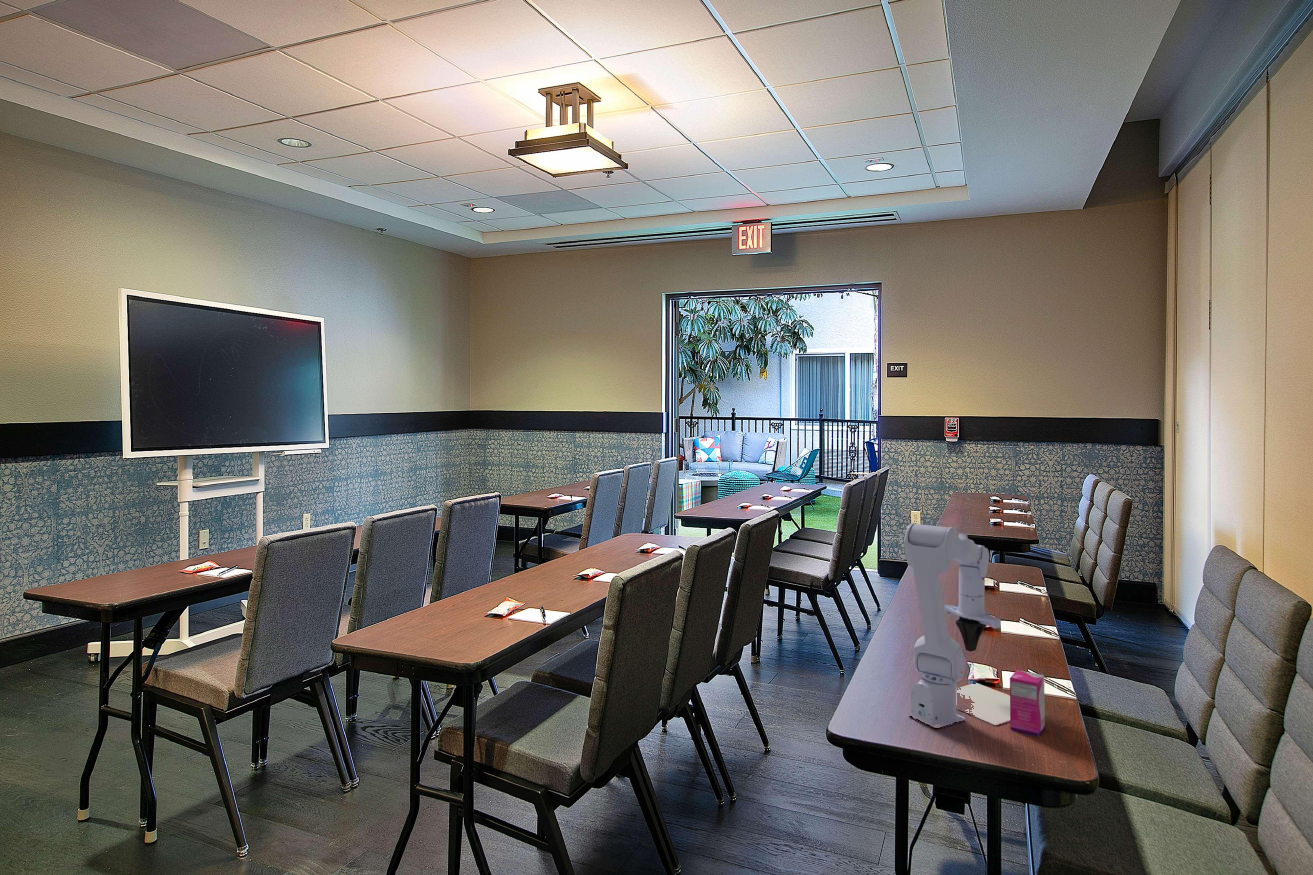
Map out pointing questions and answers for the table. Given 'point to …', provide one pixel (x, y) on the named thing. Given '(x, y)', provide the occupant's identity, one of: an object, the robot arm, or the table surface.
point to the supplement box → (1027, 702)
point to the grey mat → (987, 703)
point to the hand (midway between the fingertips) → (970, 650)
